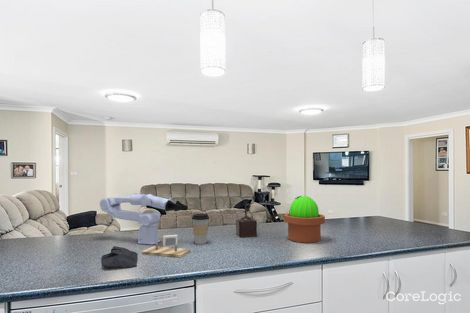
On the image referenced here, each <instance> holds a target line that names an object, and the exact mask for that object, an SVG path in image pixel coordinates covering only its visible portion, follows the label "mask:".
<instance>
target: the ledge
mask: <svg viewBox="0 0 470 313" xmlns="http://www.w3.org/2000/svg"><path fill="white" fill-rule="evenodd" d="M189 253H191V249H190V248H181V247H179V248H178V244H175V247H163V246H159V242H158V243H155V245H153V246H151V247H148V248H146V249H144V250H142V251H141V255H149V256H158V257H168V258H182V257H184V256H186V255H188V254H189Z"/></svg>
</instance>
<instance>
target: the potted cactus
mask: <svg viewBox="0 0 470 313" xmlns="http://www.w3.org/2000/svg"><path fill="white" fill-rule="evenodd" d="M289 206H290V207H289V212H288V213H285V214H283V222H284V223H287V237H288V240H290V241H292V242H295V241H296V242H297V243H301V242H303V244H313V243H312V242H314V243H318V242H320V241H321V238H322V236H321V235H322V234H321V233H322V232H321V231H322V230H321V225H323V224H325V223H326V217H325V215H324V214H320V213H319V212H320V211H319V210H320V209H319V207H318V204H317V202H316V201H315V200H314V199H312V197H310V196H308V195H307V196H306V195H304V196H303V195H298V196H297V197H295V198H294V199H293V200H292V202H291V203H290V205H289Z"/></svg>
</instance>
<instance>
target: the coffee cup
mask: <svg viewBox="0 0 470 313" xmlns="http://www.w3.org/2000/svg"><path fill="white" fill-rule="evenodd" d="M191 219H192V230H193V236H194V237H193V238H194V243H195V244H196V245H204V244H206V243H207V236H208V230H209V219H210V216H209V214H208V213H195V214H193V215H192V217H191Z"/></svg>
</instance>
